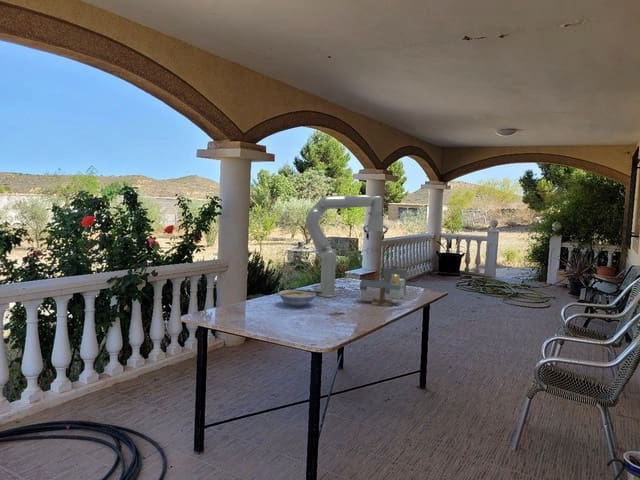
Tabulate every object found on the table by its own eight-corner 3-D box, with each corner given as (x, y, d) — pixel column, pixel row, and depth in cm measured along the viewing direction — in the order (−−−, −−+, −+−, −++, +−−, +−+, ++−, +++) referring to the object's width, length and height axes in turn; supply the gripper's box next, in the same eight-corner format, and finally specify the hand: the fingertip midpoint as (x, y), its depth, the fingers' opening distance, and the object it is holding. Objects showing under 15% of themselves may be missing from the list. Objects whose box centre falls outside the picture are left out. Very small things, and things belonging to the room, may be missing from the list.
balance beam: (359, 290, 289) (360, 281, 289) (360, 287, 299) (361, 279, 299) (399, 294, 285) (400, 285, 285) (399, 291, 295) (400, 283, 295)
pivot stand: (371, 305, 285) (372, 287, 284) (373, 299, 303) (373, 282, 302) (391, 306, 283) (392, 288, 282) (391, 300, 300) (392, 283, 300)
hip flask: (405, 293, 326) (407, 265, 324) (404, 294, 322) (406, 266, 321) (383, 291, 332) (384, 264, 330) (382, 292, 328) (383, 264, 326)
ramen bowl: (269, 305, 275) (269, 292, 275) (289, 299, 295) (289, 286, 295) (305, 311, 264) (306, 297, 263) (324, 304, 284) (324, 291, 283)
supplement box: (399, 299, 307) (399, 280, 306) (389, 297, 311) (389, 278, 310) (404, 297, 312) (405, 279, 311) (394, 296, 317) (395, 277, 316)
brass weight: (390, 285, 289) (391, 274, 288) (391, 284, 294) (391, 273, 293) (398, 286, 288) (399, 275, 287) (399, 285, 293) (399, 274, 292)
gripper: (362, 214, 308) (361, 239, 309) (389, 215, 305) (387, 240, 306) (363, 213, 315) (362, 238, 317) (389, 214, 312) (388, 240, 314)
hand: (375, 239), depth 311 cm, fingers open, 9 cm apart
